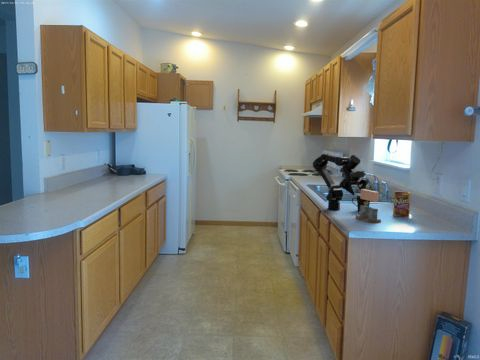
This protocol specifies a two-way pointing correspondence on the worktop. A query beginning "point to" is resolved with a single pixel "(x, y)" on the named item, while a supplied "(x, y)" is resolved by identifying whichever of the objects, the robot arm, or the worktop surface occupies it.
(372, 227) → the worktop surface
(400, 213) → the candy box
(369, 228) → the worktop surface
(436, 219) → the worktop surface
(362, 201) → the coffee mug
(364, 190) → the tan wooden block
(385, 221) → the worktop surface
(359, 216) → the ticket stand
